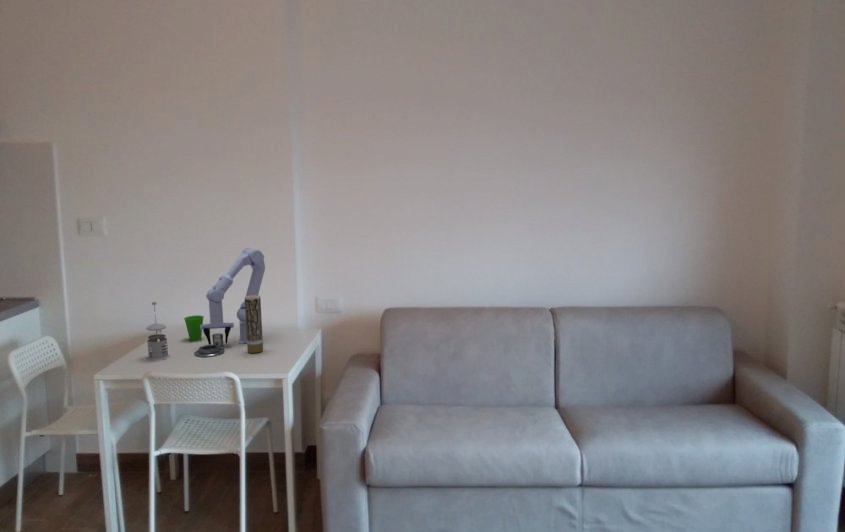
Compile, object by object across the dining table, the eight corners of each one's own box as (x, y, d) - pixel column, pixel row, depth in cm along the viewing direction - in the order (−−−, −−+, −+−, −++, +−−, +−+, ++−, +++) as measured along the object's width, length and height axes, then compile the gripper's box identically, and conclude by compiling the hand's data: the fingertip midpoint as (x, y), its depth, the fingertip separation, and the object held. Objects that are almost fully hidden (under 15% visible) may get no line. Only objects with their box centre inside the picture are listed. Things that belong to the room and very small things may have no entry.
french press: (144, 362, 272) (140, 304, 268) (148, 354, 283) (144, 299, 279) (169, 360, 274) (165, 303, 270) (172, 352, 285) (168, 297, 281)
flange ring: (225, 348, 291) (225, 342, 291) (223, 356, 279) (223, 350, 278) (196, 350, 289) (195, 344, 288) (192, 358, 276) (191, 352, 276)
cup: (208, 337, 310) (207, 315, 308) (200, 342, 301) (198, 319, 299) (190, 337, 311) (189, 315, 309) (182, 342, 302) (180, 319, 300)
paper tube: (259, 354, 281) (256, 298, 277) (244, 353, 282) (241, 298, 279) (265, 349, 288) (262, 295, 284) (251, 349, 289) (248, 295, 285)
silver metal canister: (224, 345, 296) (223, 332, 295) (223, 348, 291) (222, 335, 290) (213, 346, 295) (212, 333, 294) (212, 348, 290) (211, 336, 289)
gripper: (233, 311, 296) (235, 340, 298) (200, 313, 293) (202, 342, 295) (232, 315, 289) (234, 344, 291) (198, 317, 286) (200, 346, 288)
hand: (218, 343), depth 293 cm, fingers open, 7 cm apart
